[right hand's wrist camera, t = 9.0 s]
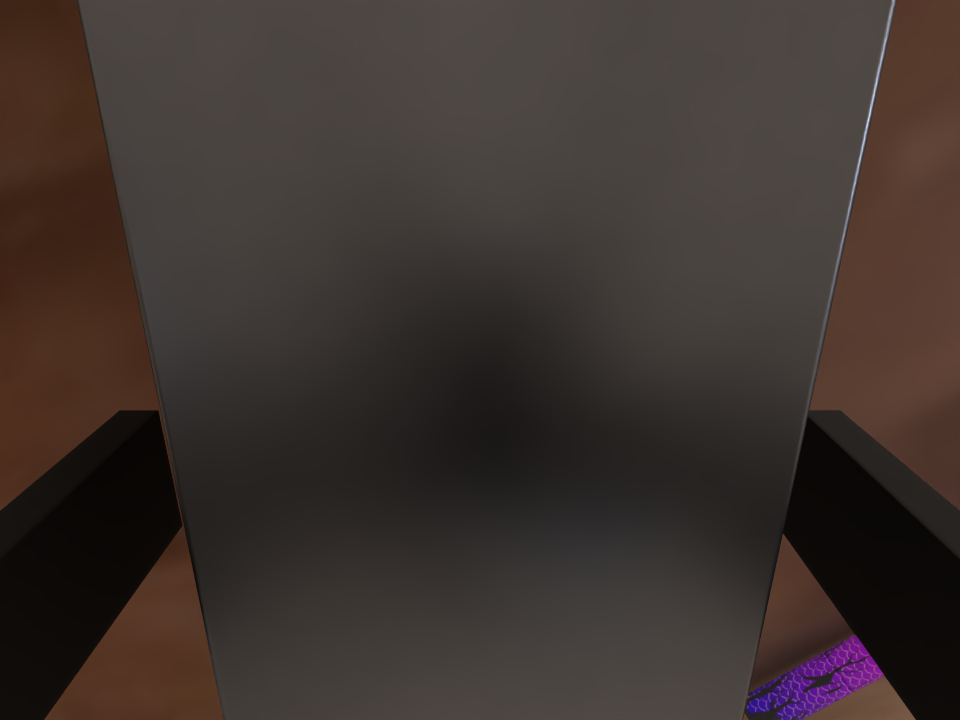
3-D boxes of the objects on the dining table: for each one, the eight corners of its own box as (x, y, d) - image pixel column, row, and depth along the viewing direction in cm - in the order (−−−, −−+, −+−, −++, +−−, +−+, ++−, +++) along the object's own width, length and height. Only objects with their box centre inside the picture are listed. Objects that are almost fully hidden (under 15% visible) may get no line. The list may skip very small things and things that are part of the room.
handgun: (1122, 332, 24) (1175, 350, 22) (1196, 469, 26) (1250, 496, 24) (665, 617, 28) (677, 651, 27) (757, 714, 30) (775, 751, 29)
